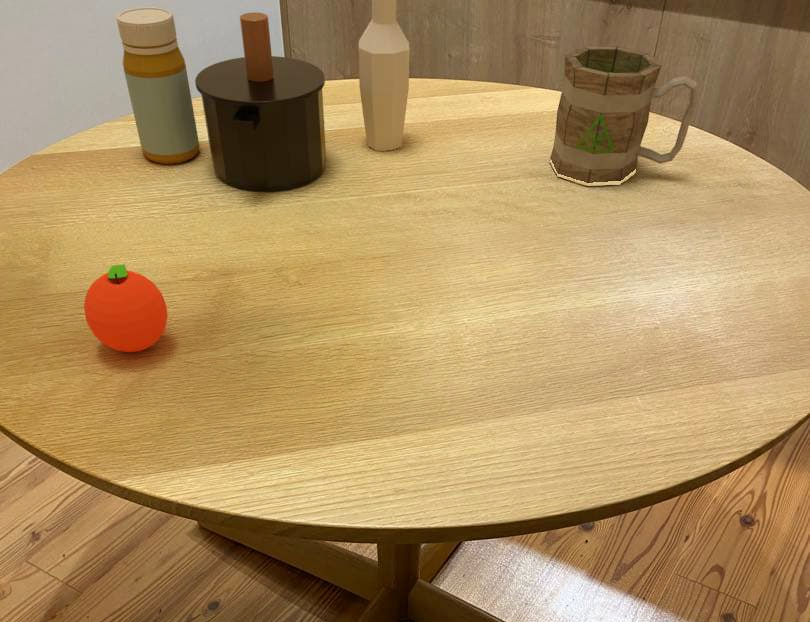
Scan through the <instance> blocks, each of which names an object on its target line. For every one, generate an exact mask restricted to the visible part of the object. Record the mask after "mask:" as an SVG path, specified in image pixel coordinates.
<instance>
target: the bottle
mask: <svg viewBox="0 0 810 622" xmlns="http://www.w3.org/2000/svg"><path fill="white" fill-rule="evenodd" d="M116 23H117V28H118V33H119V37H120V39H121V45H122V48H123V56H122V67H123V72H124V76H125V82H126V86H127V89H128V94H129V99H130V103H131V104H130V105H131V108H132V113H133V117H134V121H135V125H136V130H137V135H138V139H139V143H140V147H141V150H142V151H141V152H142V154H143V155H144V156H145V157H146V158H147V159H149V160H150V161H152V162H153V161H154V163H157V164H164V165H174V163H175V164H180V163H184V162H188V161H189V159H190V160H191V159H193V158H194V157H195V156H196V155H197V153H198V152H199V150H200V141H199V140H200V139H199V135H198V130H197V123H196V117H195V111H194V106H193V100H192V95H191V89H190V82H189V76H188V71H187V65H186V61H185V60H186V59H185V57H184V55H183V54H182V52H181V49H180V47H179V43H178V38H177V31H176V30H177V29H176V24H175V18H174V14H173V12H172V11H170V10H169V9H166V8H161V7H153V6H151V7H150V6H145V7H133V8H130V9H125V10H122V11H121V12H119V13H118V14H117V15H116ZM187 160H188V161H187Z"/></svg>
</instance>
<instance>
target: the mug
mask: <svg viewBox="0 0 810 622" xmlns="http://www.w3.org/2000/svg"><path fill="white" fill-rule="evenodd" d="M661 68H662V65H661V64H660V63H659V62H658V61H657V60H656V59H655V57H653V56H652V54H650V53H649V52H644V51H640V50H635V49H632V48H627V47H624V46H621V45H600V46H599V45H598V46H597V45H596V46H594V45H593V46H591V45H590V46H582V47H579V48H577V49H576V50H574V51H572V52H570V53H567V54H566V55H565V57H564V75H563V76H564V77H563V81H562V82H563V83H562V89H561V94H560V97H559V98H560V99H559V103H558V106H557V111H556V122H555V133H554V141H553V147H552V150H551V154H550V157H549V160H550V159H551V160H552V163H553V164H554V167H555V169H556V171H557V173H558V174H561V175H564V176H567V177H571V178H573V179H576V180H580V181H584V182H586V183H593V182H608V181H621V180H623V179H624V178H625V177H626V176H628V175H629V174H630V173H631V172H633V171H634V170H635V169H636V170H637V168H638V160H639V157H642V158H644V159H647V160H650V161H653V162H654V163H657V164H665V163H669V162H672V161H673V160H674V158H675V157H676V156H677V155H678V154H679V153H680V151H681V150H682V148H683V145H684V143H685V140H686V137H687V134H688V131H689V127H690V124H691V120H692V117H693V115H694V112H695V109H696V107H697V104H698V102H699V95H698V93H699V92H698V83H697V82H696V81H694V80H693V79H691V78H690V77H689V76H687V75H681V76H678V77H673V78H672V79H670V80H669V81H667V82H666V83H665V84H664V85H662V86H661V87H655V85H656V83H657V81H658V77H659V75H660V72H661V70H662V69H661ZM680 86H684V87H686V88H688V89H690V95H689V96H690V97H689V103H688V104H687V108H686V110H685V112H684V115H683V117H682V119H681V123H680V126H679V129H678V133H677V136H676V140H675V145H674V146H673V147H672V149H671V150H670V151H669V152H666V153H662V154H661V153H659V152H657V151H655V150H653V149H651V148H647V147H644V146H642V142H643V139H644V135H645V132H646V130H647V127H648V123H649V118H650V110H651V103H652V100H653V99H660V98H662V97H664V96H666V95H668V93H669V92H671V91H672V90H673V89H675V88H677V87H680Z"/></svg>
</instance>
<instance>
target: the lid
mask: <svg viewBox="0 0 810 622" xmlns="http://www.w3.org/2000/svg"><path fill="white" fill-rule="evenodd" d="M239 22H240V31H241V39H242V45H243V47H242V48H243V55H244V56H243V57H235V58H231V59H227V60H226V59H225V60H223V61H222V60H221V61H219V62H216V63H213V64H211V65H208V66H207V67H205V68H203V69H202V70H200V71H199V72H198V74H197V75H196V77H195V79H194V83H195V88H196V90H197V92H198V93H199V94H200V95H201V94H202V95H203V96H205V97H207V98H209V99H211V100H214V101H217V102H220V103H224V104H229V105H236V106H250V107H263V106H276V105H283V104H289V103H293V102H297V101H301V100H304V99H306V98H309V97H311V96H313V95H315V94H316V93H318V92H319V91H320V90H321V89H322V90H323V88H324V87H325V85H326V76H325V73H324V71H323V70H322V69H321V68H320V67H318V66H316V65H315V64H313V63H311V62H308V61H304V60H301V59H297V58H292V57H285V56H275V55H273V54H272V44H271V34H270V25H269V16H268V14H266V13H263V12H253V11H252V12H246V13H243V14H241V15H240V16H239Z"/></svg>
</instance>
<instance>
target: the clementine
mask: <svg viewBox="0 0 810 622" xmlns="http://www.w3.org/2000/svg"><path fill="white" fill-rule="evenodd" d="M83 310H84V315H85V316H84V317H85V320H86V321H85V322H86V324H87V326H88V328H89V330H90V332H91V333H92V334H93V335H94V336H95V338H97V339H98V341H99V342H100V343H102V344H104V345H105V346H107V347H108V348H110V349H112V350H115V351H118V352H124V353H136V352H142V351H144V350H146V349H149V347H151V346H153V345H155V344H156V343H157V342H158V341H159V340H160V338H161V336H162V335H163V334H164V332H165V331H166V326H167V321H168V315H169V314H168V307H167V304H166V300H165V298H164V296H163V293H162V292H161V290H160V289H159V288H158V287H157V285H156V284H155V283H154V282H153V281H152V280H151V279H148V278H147V277H146V276H145V275H143V274H142V273H138V272H134V271H132V270H127V267H126V265H125V264H113V265H112V266H110V267H109V269H108V272H106V273H104V274H102V275H101V276H99V277H98V278H97V279H96V280H94V281H93V282H92V283H91V284H90V286H89V288H88V290H87V292H86V294H85V298H84V303H83Z"/></svg>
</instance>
